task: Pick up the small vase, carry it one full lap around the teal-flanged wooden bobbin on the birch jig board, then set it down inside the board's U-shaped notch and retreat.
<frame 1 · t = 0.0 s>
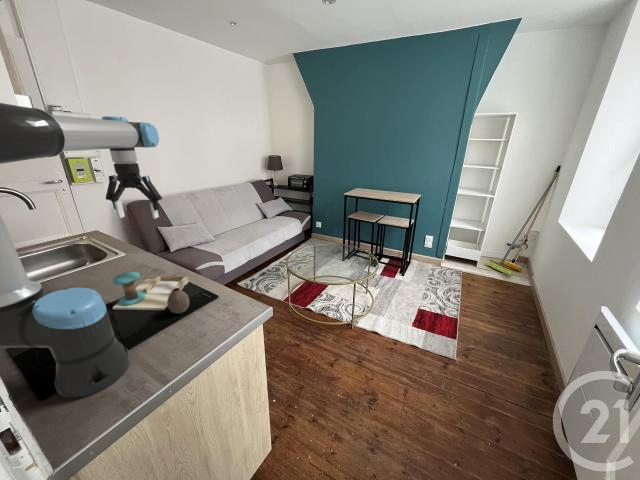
hand: (138, 217, 105), 28 cm above the counter, fingers open, 13 cm apart
vase: (180, 310, 95), on the counter
jig board: (154, 294, 104), on the counter
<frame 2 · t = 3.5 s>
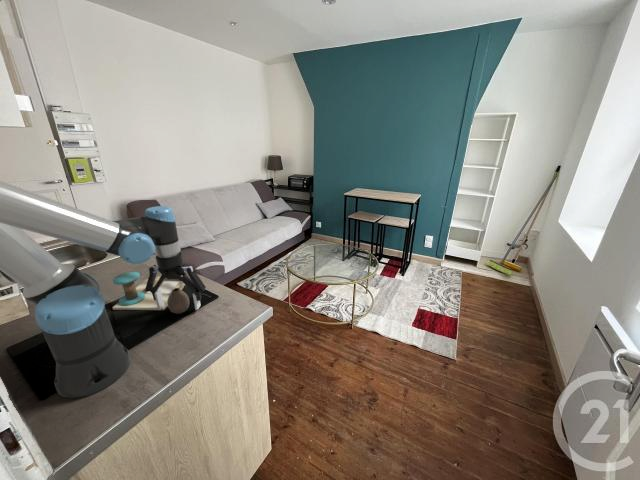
hand: (179, 307, 94), 1 cm above the counter, fingers open, 12 cm apart
nothing on the counter moved.
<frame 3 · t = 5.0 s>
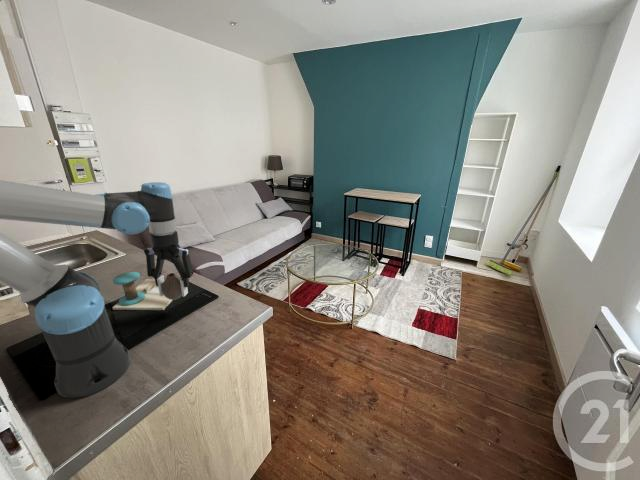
hand: (174, 294, 92), 7 cm above the counter, fingers closed on vase, 7 cm apart
vase: (175, 297, 92), point 6 cm above the counter, touching gripper
when the fingers open (3 cm above the counter, at t = 13.0 s): vase stays where it is, resting on jig board.
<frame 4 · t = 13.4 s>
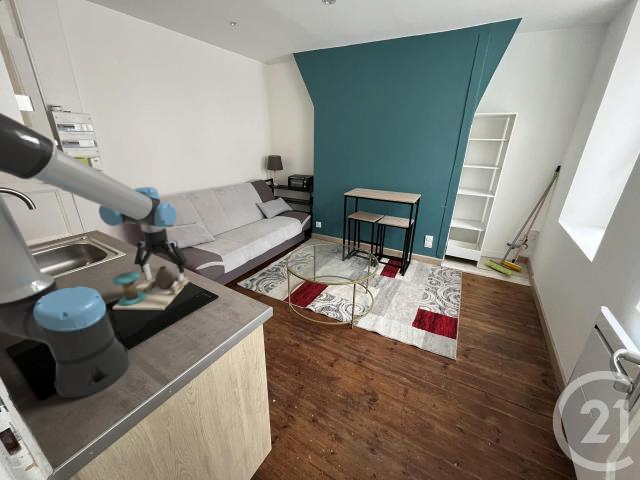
hand: (165, 279, 106), 4 cm above the counter, fingers open, 12 cm apart
vase: (166, 286, 107), point 1 cm above the counter, touching jig board
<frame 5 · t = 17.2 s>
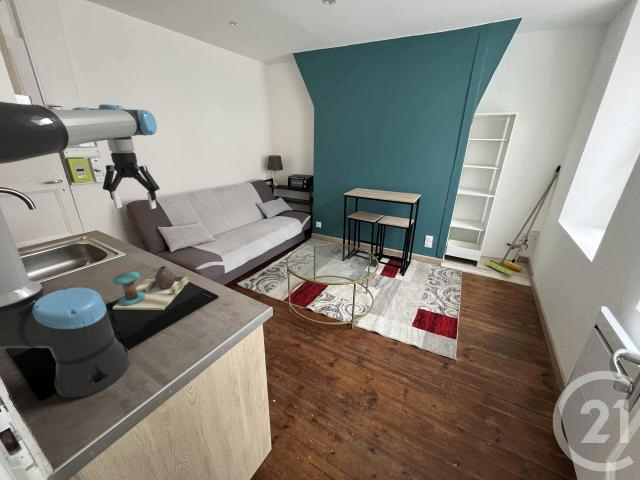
hand: (136, 208, 104), 32 cm above the counter, fingers open, 13 cm apart
nothing on the counter moved.
at the end: vase 0.2 cm from the target spot on the jig board, point 0.9 cm above the jig board's base; vase tilted 0°; the gripper is holding nothing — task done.
